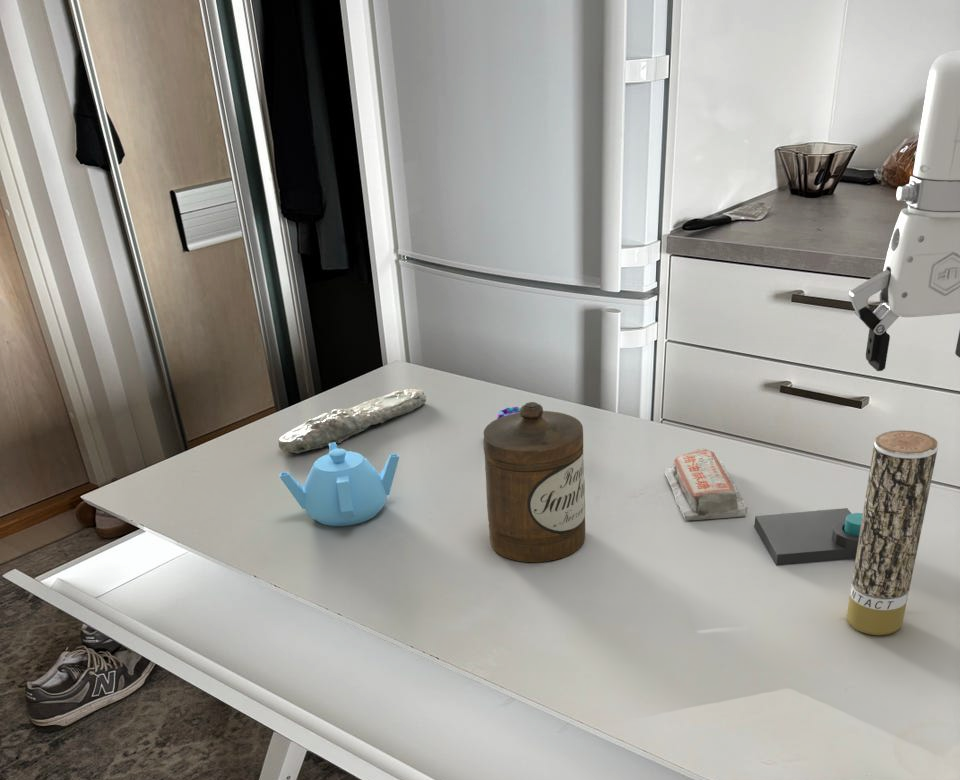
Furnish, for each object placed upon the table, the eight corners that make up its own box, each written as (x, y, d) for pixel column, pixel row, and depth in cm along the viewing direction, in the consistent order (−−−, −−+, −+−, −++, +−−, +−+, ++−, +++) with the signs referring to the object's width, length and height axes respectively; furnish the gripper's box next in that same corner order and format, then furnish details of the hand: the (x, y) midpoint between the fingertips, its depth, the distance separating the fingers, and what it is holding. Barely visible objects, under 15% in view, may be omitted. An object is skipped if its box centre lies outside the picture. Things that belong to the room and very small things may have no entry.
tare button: (865, 524, 141) (867, 511, 140) (874, 536, 138) (876, 523, 137) (840, 526, 141) (842, 513, 140) (849, 538, 138) (851, 525, 137)
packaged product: (750, 489, 149) (685, 495, 150) (748, 518, 152) (684, 523, 152) (723, 442, 164) (664, 447, 164) (721, 469, 167) (663, 474, 167)
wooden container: (560, 571, 143) (555, 429, 131) (473, 552, 150) (460, 416, 137) (601, 526, 154) (599, 391, 141) (517, 510, 160) (509, 380, 148)
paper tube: (863, 603, 130) (893, 425, 116) (911, 621, 126) (949, 439, 112) (835, 624, 127) (863, 444, 113) (884, 644, 122) (920, 459, 108)
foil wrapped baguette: (439, 412, 202) (409, 404, 209) (436, 386, 200) (406, 379, 206) (298, 460, 183) (269, 450, 189) (293, 433, 180) (264, 423, 186)
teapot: (282, 521, 164) (269, 461, 158) (339, 484, 174) (329, 427, 168) (353, 539, 157) (342, 477, 150) (408, 500, 167) (400, 441, 161)
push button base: (853, 518, 149) (857, 497, 147) (885, 559, 139) (889, 538, 137) (754, 526, 150) (755, 506, 148) (777, 568, 139) (780, 547, 137)
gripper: (877, 209, 94) (852, 382, 104) (1057, 193, 94) (1016, 367, 104) (850, 195, 101) (829, 358, 110) (1019, 179, 100) (983, 345, 110)
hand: (920, 362), depth 107 cm, fingers open, 9 cm apart
